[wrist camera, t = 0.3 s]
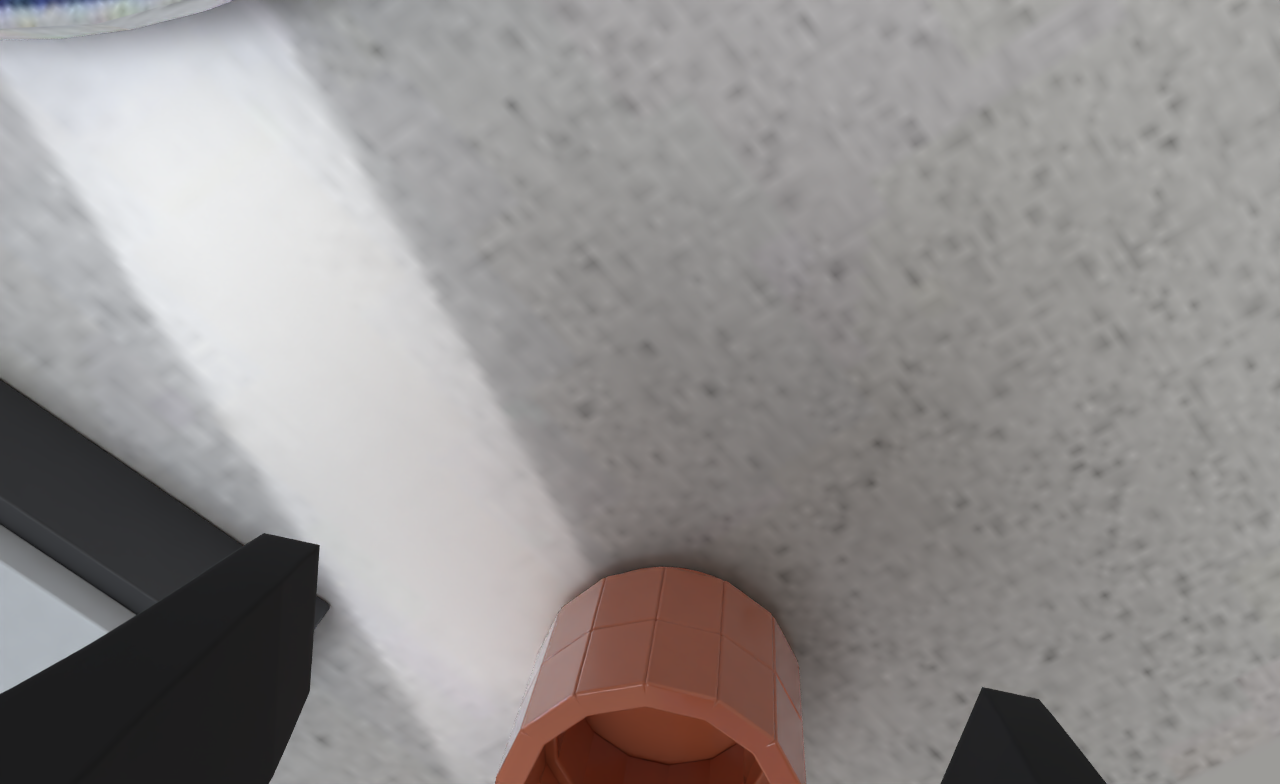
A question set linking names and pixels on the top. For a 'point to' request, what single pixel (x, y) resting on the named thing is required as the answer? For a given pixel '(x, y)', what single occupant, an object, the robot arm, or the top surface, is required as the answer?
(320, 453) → the top surface
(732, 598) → the flower pot
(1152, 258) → the top surface
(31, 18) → the ceramic plate
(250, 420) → the top surface
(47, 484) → the scale
